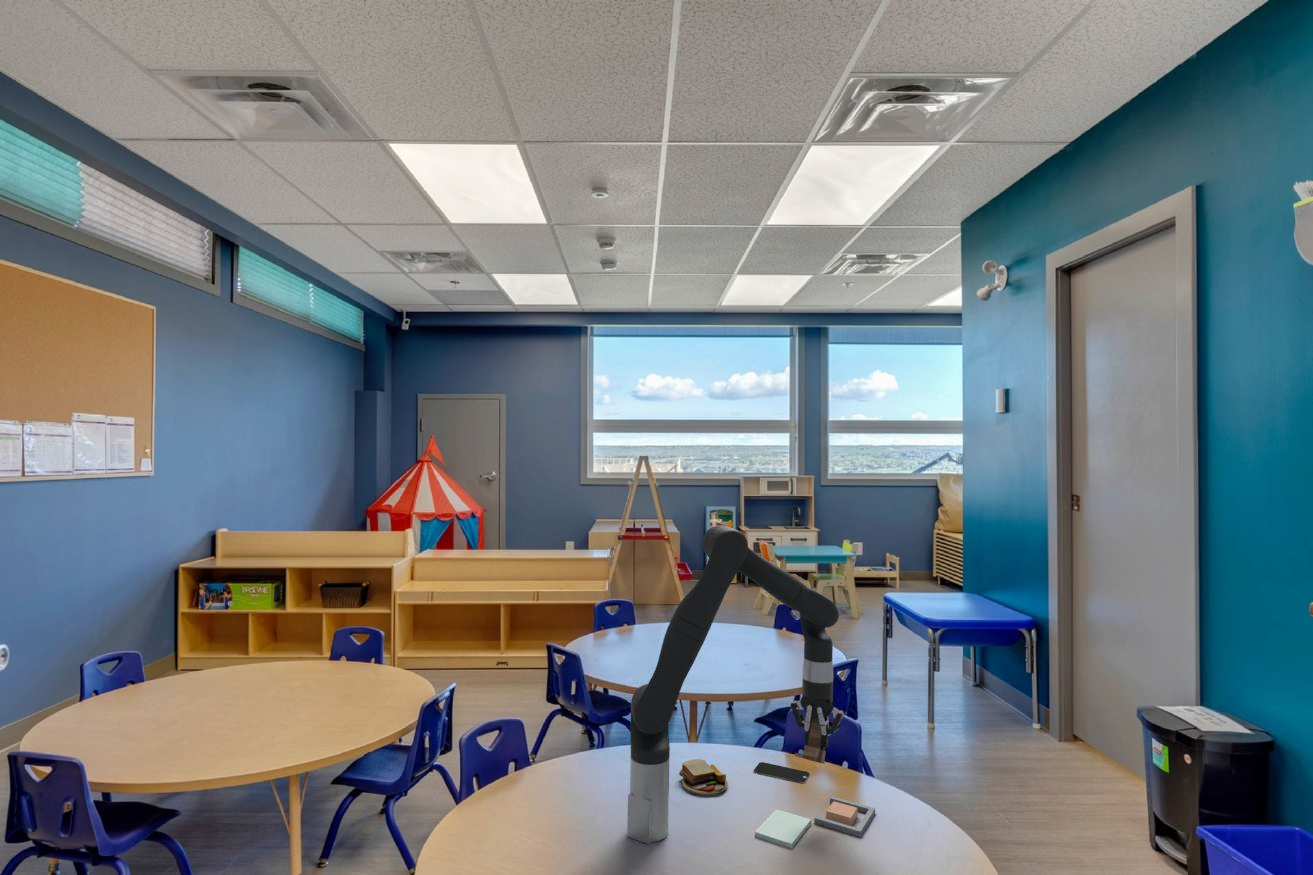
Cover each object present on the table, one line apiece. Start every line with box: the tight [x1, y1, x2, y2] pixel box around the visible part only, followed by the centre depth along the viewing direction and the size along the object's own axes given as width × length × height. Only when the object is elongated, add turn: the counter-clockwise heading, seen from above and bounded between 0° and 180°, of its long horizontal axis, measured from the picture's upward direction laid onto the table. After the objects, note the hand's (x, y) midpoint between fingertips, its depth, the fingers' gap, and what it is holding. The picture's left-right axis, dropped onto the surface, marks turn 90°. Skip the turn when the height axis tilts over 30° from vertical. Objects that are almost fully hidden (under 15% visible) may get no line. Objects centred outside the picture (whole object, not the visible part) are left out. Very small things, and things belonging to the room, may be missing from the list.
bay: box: [813, 795, 876, 838], centre depth 165 cm, size 13×11×1 cm
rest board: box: [754, 808, 812, 849], centre depth 159 cm, size 13×9×1 cm
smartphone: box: [753, 761, 811, 784], centre depth 190 cm, size 8×1×15 cm
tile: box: [825, 801, 859, 827], centre depth 165 cm, size 6×6×2 cm
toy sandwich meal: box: [678, 758, 729, 796], centre depth 182 cm, size 12×14×5 cm
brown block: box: [794, 718, 826, 765], centre depth 168 cm, size 8×5×11 cm, turn 148°
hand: (816, 746), depth 167 cm, fingers closed on brown block, 3 cm apart
